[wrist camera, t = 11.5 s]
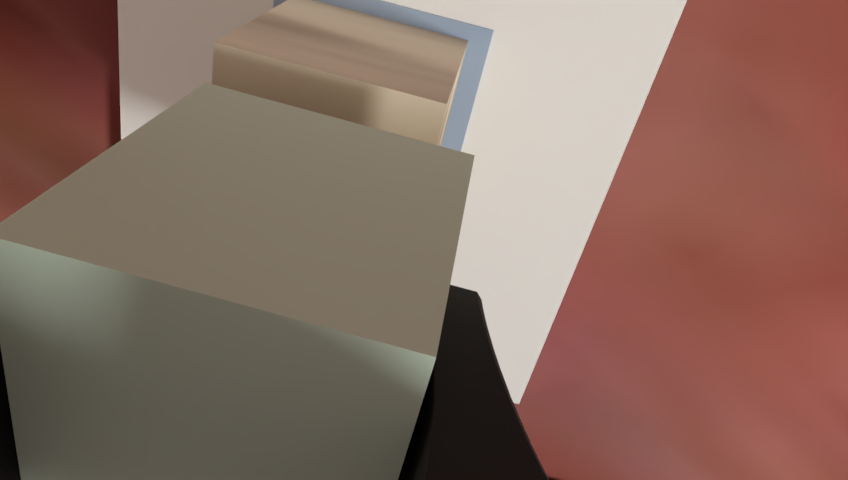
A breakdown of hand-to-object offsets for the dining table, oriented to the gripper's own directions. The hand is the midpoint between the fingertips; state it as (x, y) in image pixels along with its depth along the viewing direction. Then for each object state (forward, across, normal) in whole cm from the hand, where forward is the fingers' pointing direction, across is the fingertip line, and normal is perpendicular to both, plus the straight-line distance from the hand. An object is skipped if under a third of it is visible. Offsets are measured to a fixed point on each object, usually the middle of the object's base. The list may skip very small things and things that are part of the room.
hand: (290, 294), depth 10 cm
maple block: (+8, +1, 0) cm, 9 cm away
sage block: (+2, 0, 0) cm, 2 cm away
